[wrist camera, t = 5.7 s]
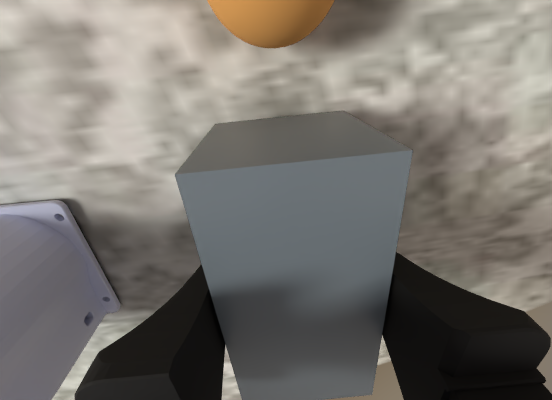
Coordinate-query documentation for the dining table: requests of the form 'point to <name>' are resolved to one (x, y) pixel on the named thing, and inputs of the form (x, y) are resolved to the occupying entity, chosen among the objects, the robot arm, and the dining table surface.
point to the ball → (271, 19)
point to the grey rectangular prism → (298, 248)
